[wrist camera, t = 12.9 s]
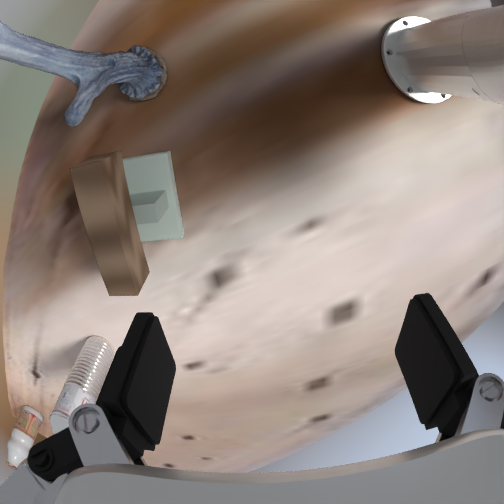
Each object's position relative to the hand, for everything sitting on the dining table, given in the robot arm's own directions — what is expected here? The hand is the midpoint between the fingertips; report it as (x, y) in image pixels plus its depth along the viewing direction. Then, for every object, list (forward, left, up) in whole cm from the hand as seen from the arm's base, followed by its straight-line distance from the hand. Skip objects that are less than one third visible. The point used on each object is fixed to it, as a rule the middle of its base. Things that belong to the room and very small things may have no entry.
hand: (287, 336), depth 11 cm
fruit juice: (+93, +79, -31) cm, 126 cm away
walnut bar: (+18, +4, -24) cm, 30 cm away
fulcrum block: (+18, +4, -30) cm, 35 cm away
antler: (+16, -14, -31) cm, 37 cm away
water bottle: (+36, +34, -31) cm, 58 cm away
